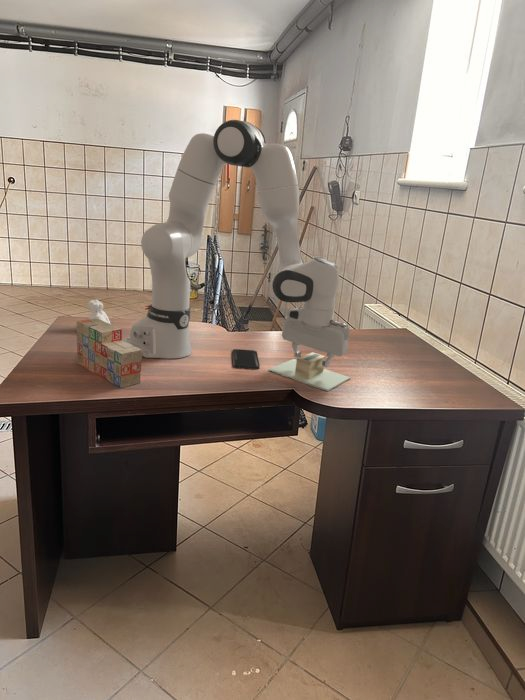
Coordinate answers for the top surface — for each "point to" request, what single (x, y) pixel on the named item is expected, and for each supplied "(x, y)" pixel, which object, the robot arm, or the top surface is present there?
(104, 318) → the bust
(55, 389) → the top surface
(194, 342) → the top surface
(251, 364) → the phone
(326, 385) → the rubber mat
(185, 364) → the top surface
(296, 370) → the maple block
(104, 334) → the stack of blocks
